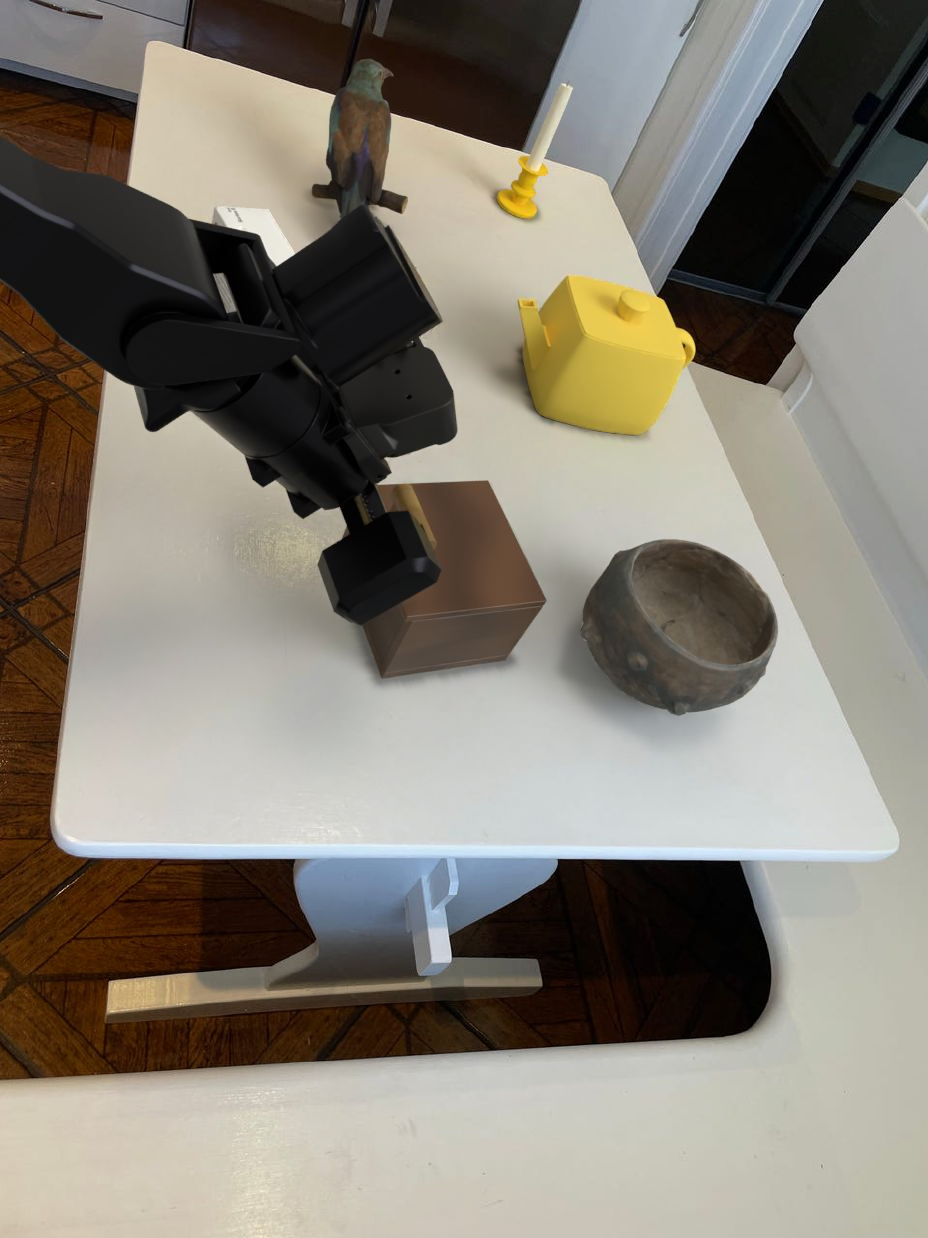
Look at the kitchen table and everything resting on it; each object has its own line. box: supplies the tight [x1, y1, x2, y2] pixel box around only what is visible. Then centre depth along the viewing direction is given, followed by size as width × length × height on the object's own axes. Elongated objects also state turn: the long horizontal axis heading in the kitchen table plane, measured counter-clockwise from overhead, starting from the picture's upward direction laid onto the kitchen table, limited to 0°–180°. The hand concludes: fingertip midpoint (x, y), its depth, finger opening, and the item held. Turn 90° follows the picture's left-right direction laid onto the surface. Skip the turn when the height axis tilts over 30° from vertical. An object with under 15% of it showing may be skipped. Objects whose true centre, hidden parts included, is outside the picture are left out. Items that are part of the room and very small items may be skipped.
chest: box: [341, 526, 544, 680], centre depth 70 cm, size 11×12×7 cm
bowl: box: [579, 538, 779, 717], centre depth 73 cm, size 14×15×10 cm
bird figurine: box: [311, 58, 409, 220], centre depth 97 cm, size 13×10×20 cm
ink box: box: [211, 205, 296, 313], centre depth 78 cm, size 9×5×12 cm, turn 30°
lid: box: [360, 479, 548, 622], centre depth 65 cm, size 11×12×4 cm
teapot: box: [517, 274, 696, 436], centre depth 92 cm, size 20×12×12 cm, turn 98°
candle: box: [496, 80, 574, 219], centre depth 110 cm, size 5×5×16 cm
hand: (402, 529), depth 63 cm, fingers open, 9 cm apart
